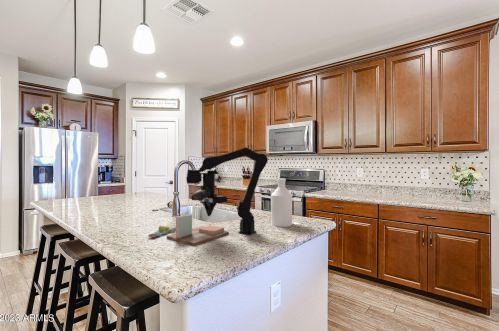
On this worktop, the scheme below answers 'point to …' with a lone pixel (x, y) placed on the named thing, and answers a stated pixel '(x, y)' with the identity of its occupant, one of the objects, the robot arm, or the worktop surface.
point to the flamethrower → (162, 231)
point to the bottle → (281, 206)
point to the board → (196, 237)
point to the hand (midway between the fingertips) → (209, 216)
